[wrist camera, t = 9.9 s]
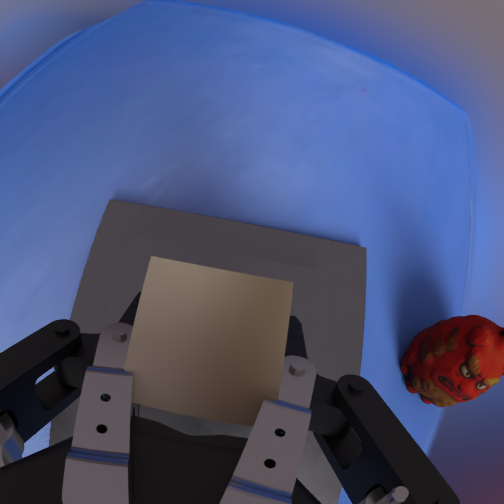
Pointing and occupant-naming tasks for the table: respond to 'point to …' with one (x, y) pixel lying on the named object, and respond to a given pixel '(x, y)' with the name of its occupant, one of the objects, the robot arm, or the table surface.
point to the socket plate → (237, 260)
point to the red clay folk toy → (454, 360)
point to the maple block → (208, 341)
